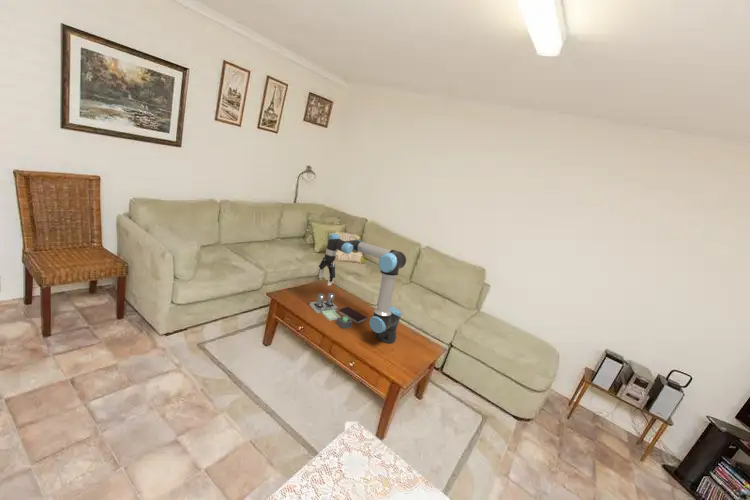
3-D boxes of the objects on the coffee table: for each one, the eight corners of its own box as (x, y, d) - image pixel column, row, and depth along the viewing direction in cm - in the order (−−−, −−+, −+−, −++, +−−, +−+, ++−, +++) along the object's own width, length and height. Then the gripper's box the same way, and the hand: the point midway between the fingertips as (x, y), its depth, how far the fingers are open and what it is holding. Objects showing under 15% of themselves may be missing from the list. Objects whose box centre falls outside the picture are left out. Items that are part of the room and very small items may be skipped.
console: (351, 328, 250) (352, 322, 248) (341, 329, 245) (343, 323, 243) (345, 322, 256) (346, 316, 254) (336, 323, 251) (337, 317, 249)
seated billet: (332, 309, 270) (336, 295, 267) (327, 309, 267) (330, 295, 264) (329, 306, 274) (332, 292, 270) (323, 306, 270) (327, 292, 267)
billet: (316, 310, 261) (320, 296, 258) (313, 307, 265) (317, 293, 262) (322, 310, 264) (325, 296, 261) (319, 307, 268) (322, 293, 265)
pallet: (337, 311, 269) (337, 307, 268) (316, 313, 257) (317, 309, 257) (329, 303, 277) (330, 300, 277) (309, 305, 266) (310, 302, 265)
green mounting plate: (340, 319, 257) (340, 317, 257) (328, 321, 251) (329, 318, 250) (332, 312, 265) (333, 309, 265) (321, 313, 259) (321, 311, 258)
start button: (347, 324, 250) (349, 318, 248) (343, 325, 247) (344, 319, 246) (344, 322, 252) (346, 316, 251) (340, 322, 250) (341, 316, 249)
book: (347, 309, 277) (348, 305, 276) (366, 320, 268) (367, 316, 267) (337, 313, 267) (338, 309, 266) (357, 325, 257) (358, 321, 256)
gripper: (343, 261, 246) (337, 288, 251) (326, 248, 264) (321, 274, 269) (334, 261, 241) (328, 288, 247) (317, 248, 259) (312, 274, 265)
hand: (324, 281), depth 258 cm, fingers open, 13 cm apart
